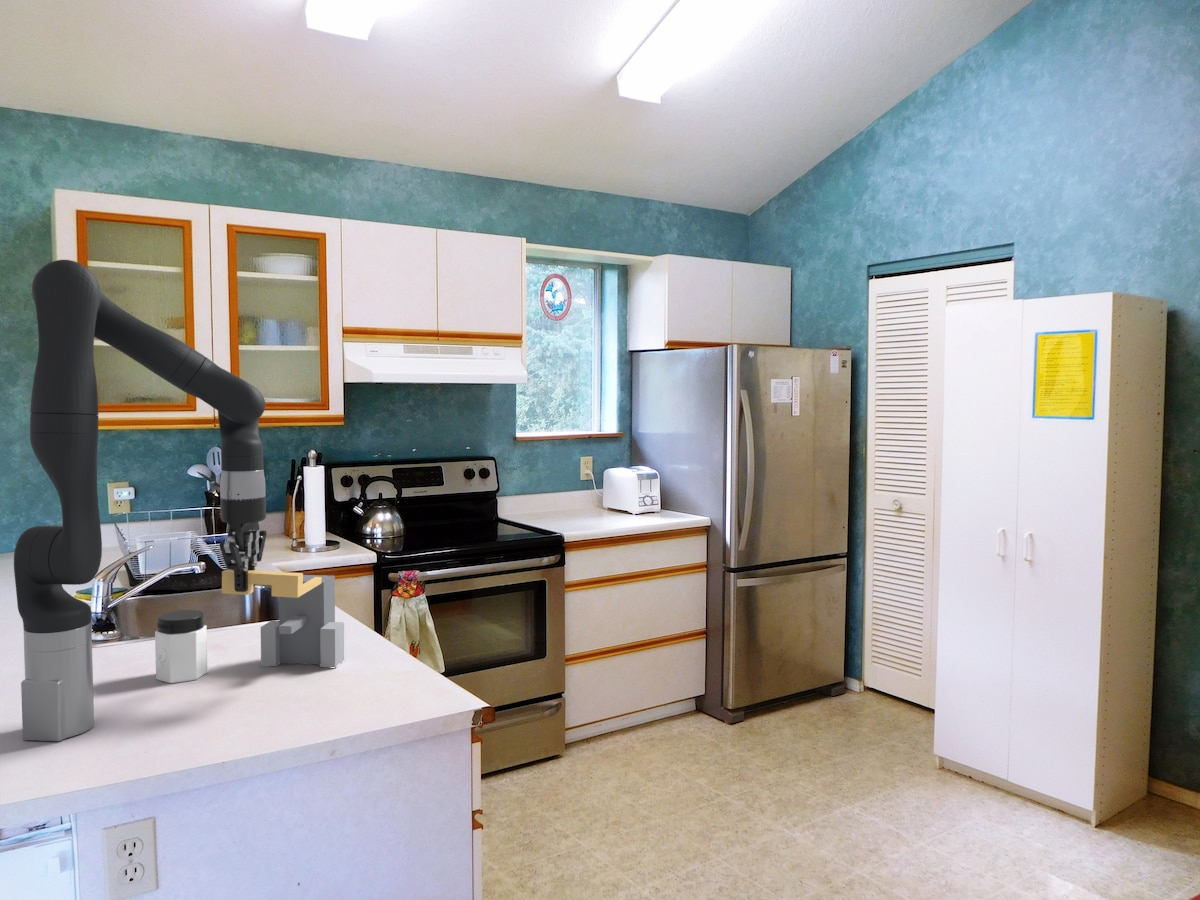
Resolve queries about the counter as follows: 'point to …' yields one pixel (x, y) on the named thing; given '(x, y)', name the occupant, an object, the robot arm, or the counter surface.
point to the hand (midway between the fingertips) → (245, 589)
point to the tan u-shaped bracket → (272, 583)
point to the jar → (181, 646)
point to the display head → (305, 629)
